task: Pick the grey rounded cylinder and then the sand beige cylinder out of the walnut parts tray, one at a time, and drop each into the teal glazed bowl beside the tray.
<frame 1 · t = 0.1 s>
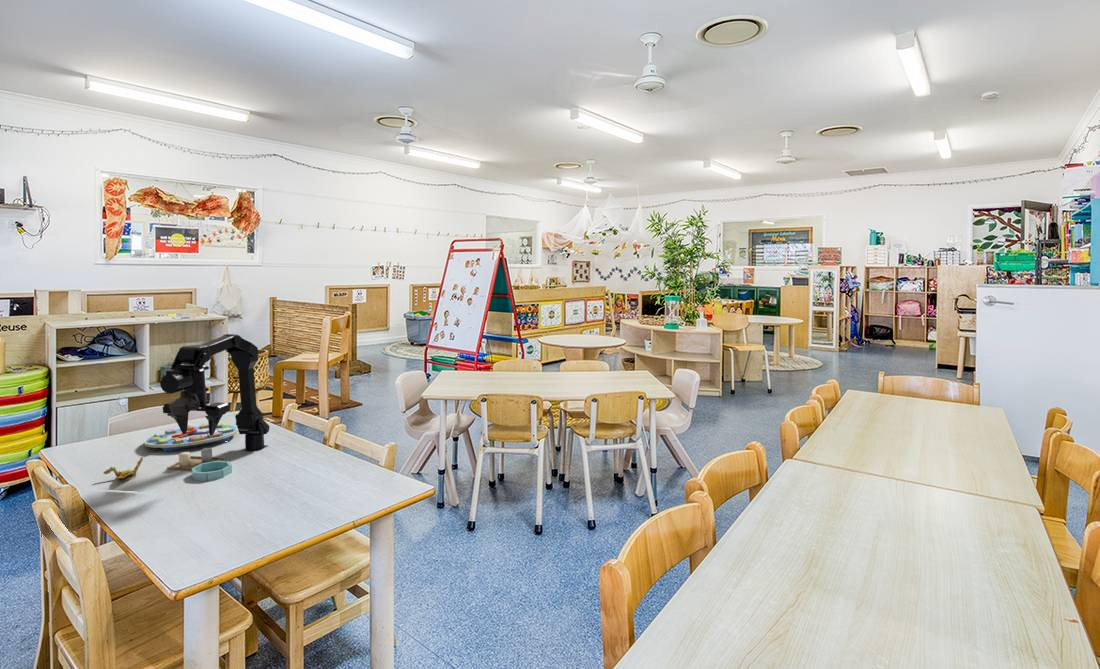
hand: (198, 434, 177), 15 cm above the table, tool pointing down, fingers open, 9 cm apart
bowl: (212, 475, 182), on the table
sand beige cylinder: (185, 466, 188), point 1 cm above the table, touching parts tray
parts tray: (196, 465, 190), on the table
shape sorting clock: (193, 442, 216), on the table
olive plastic animal figure: (127, 480, 178), on the table
grey rounded cylinder: (207, 462, 192), point 1 cm above the table, touching parts tray
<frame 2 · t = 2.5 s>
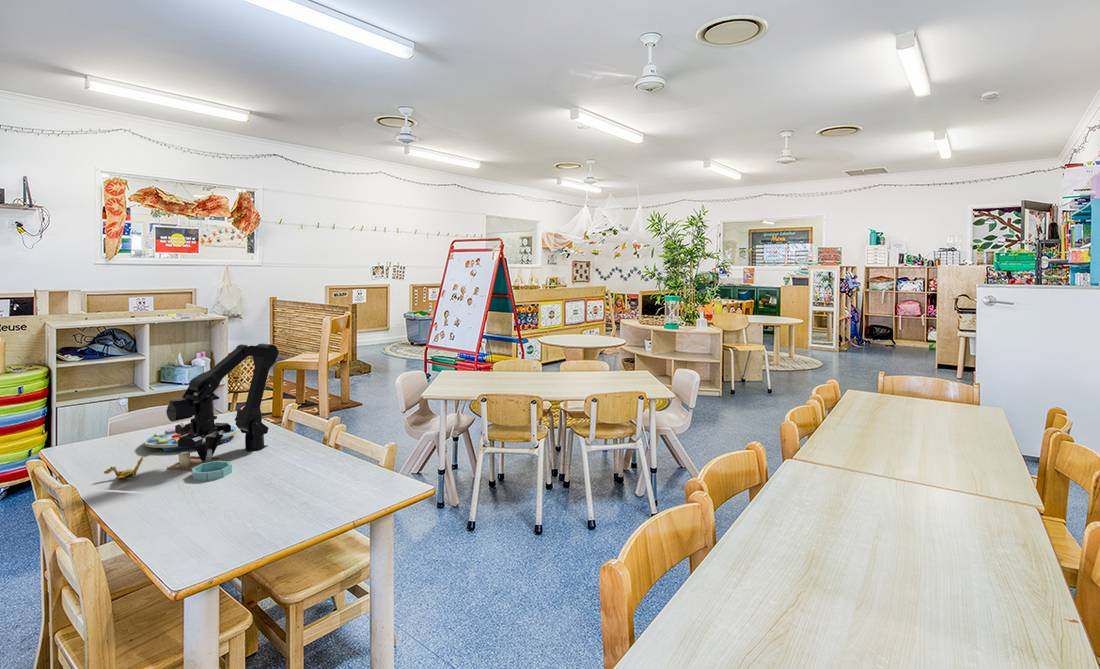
hand: (206, 458, 192), 2 cm above the table, tool pointing down, fingers closed on grey rounded cylinder, 3 cm apart
grey rounded cylinder: (207, 462, 192), point 1 cm above the table, touching gripper, parts tray
everything else where it was.
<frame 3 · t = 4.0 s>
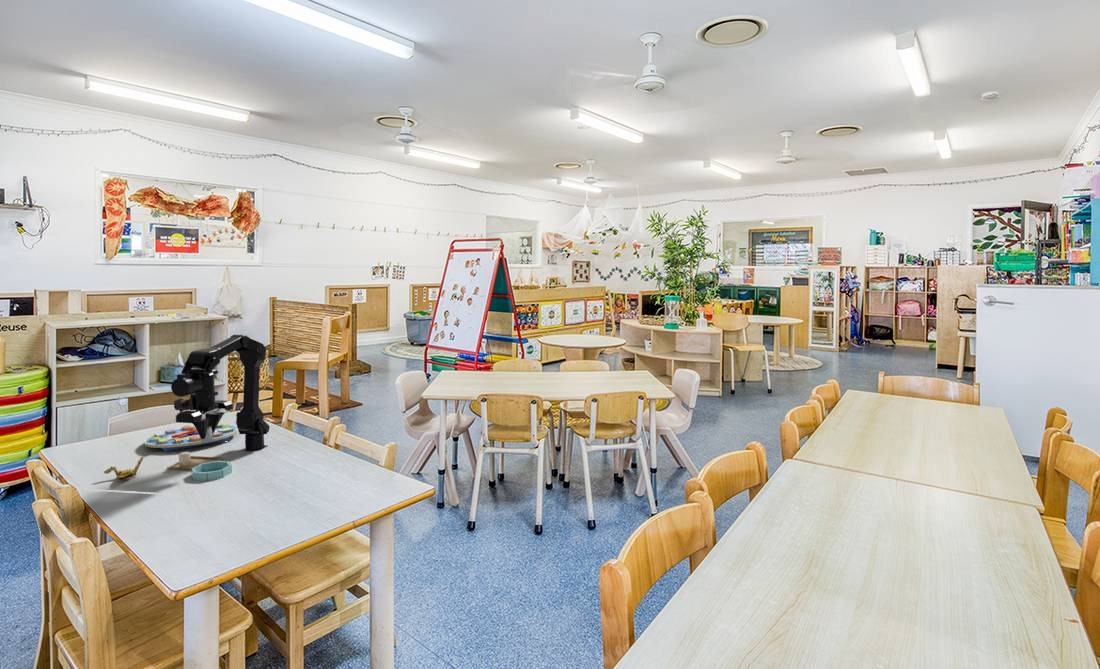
hand: (206, 437, 182), 12 cm above the table, tool pointing down, fingers closed on grey rounded cylinder, 3 cm apart
grey rounded cylinder: (206, 440, 182), point 11 cm above the table, touching gripper
everything else where it was.
when the fingers open (4 cm above the table, at t = 5.9 s): grey rounded cylinder drops 2 cm, resting on bowl.
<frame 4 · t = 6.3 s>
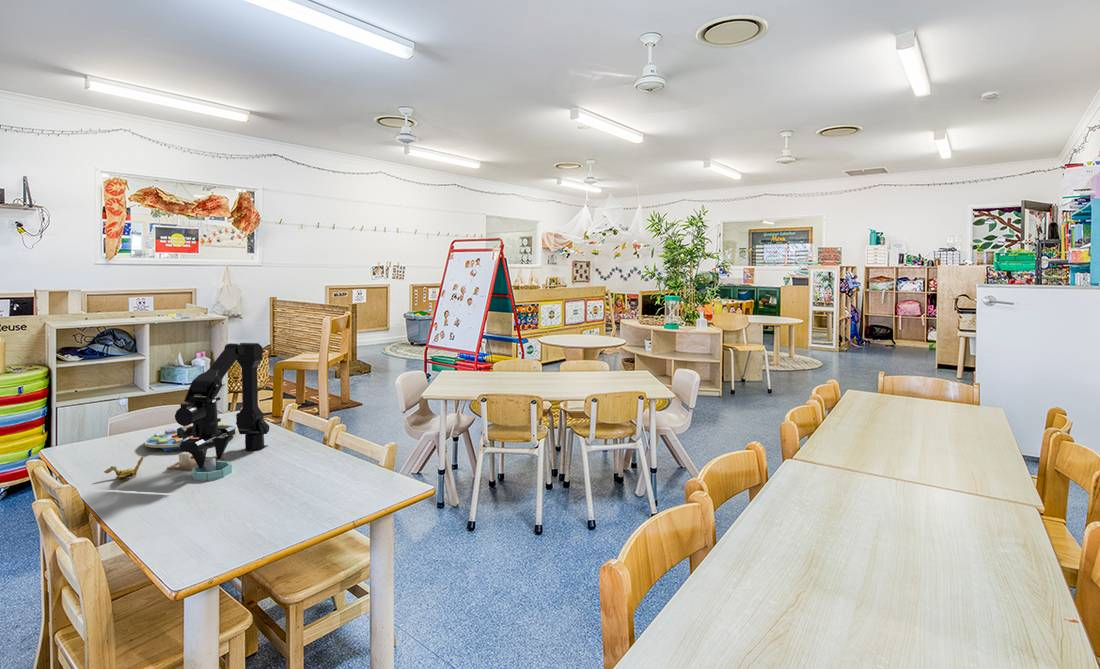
hand: (210, 463, 183), 4 cm above the table, tool pointing down, fingers open, 8 cm apart
grey rounded cylinder: (210, 472, 183), point 1 cm above the table, touching bowl
everything else where it was.
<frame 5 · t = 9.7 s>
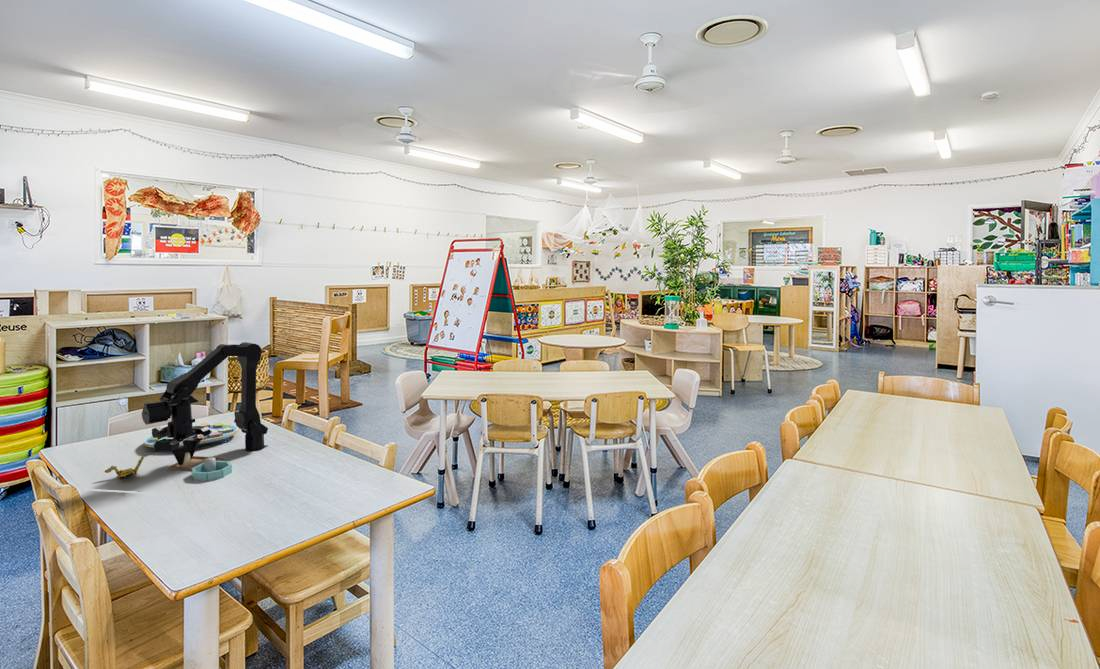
hand: (184, 462, 188), 2 cm above the table, tool pointing down, fingers closed on sand beige cylinder, 3 cm apart
sand beige cylinder: (185, 466, 188), point 1 cm above the table, touching gripper, parts tray
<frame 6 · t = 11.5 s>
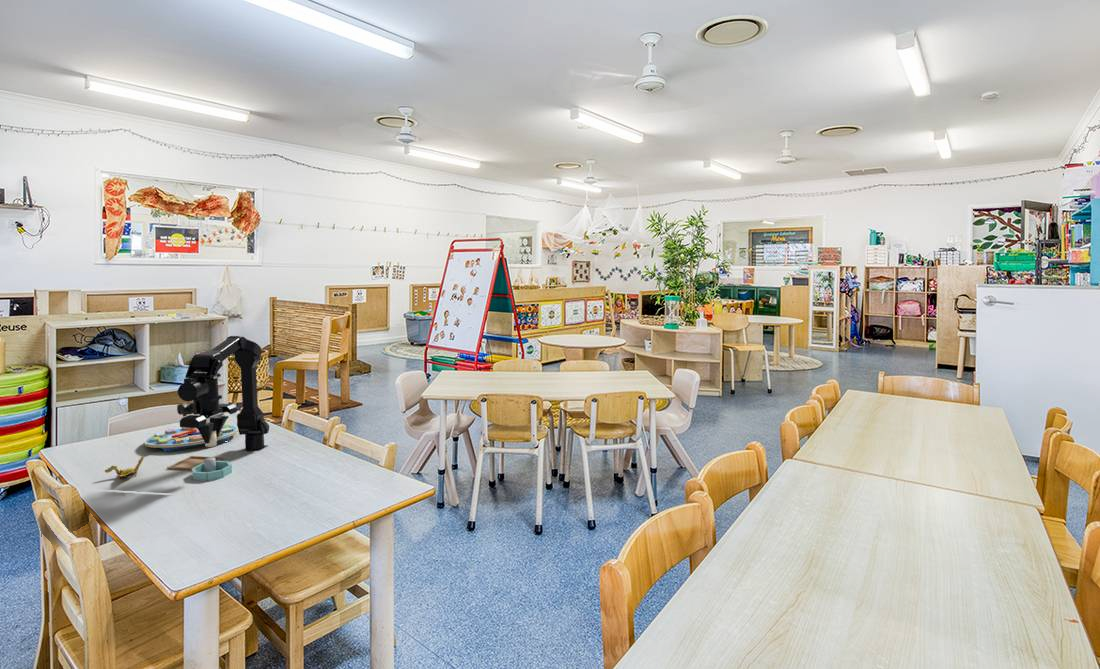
hand: (211, 441, 179), 12 cm above the table, tool pointing down, fingers closed on sand beige cylinder, 3 cm apart
sand beige cylinder: (211, 445, 179), point 11 cm above the table, touching gripper
when the fingers open (4 cm above the table, at t = 13.2 s): sand beige cylinder drops 2 cm, resting on bowl.
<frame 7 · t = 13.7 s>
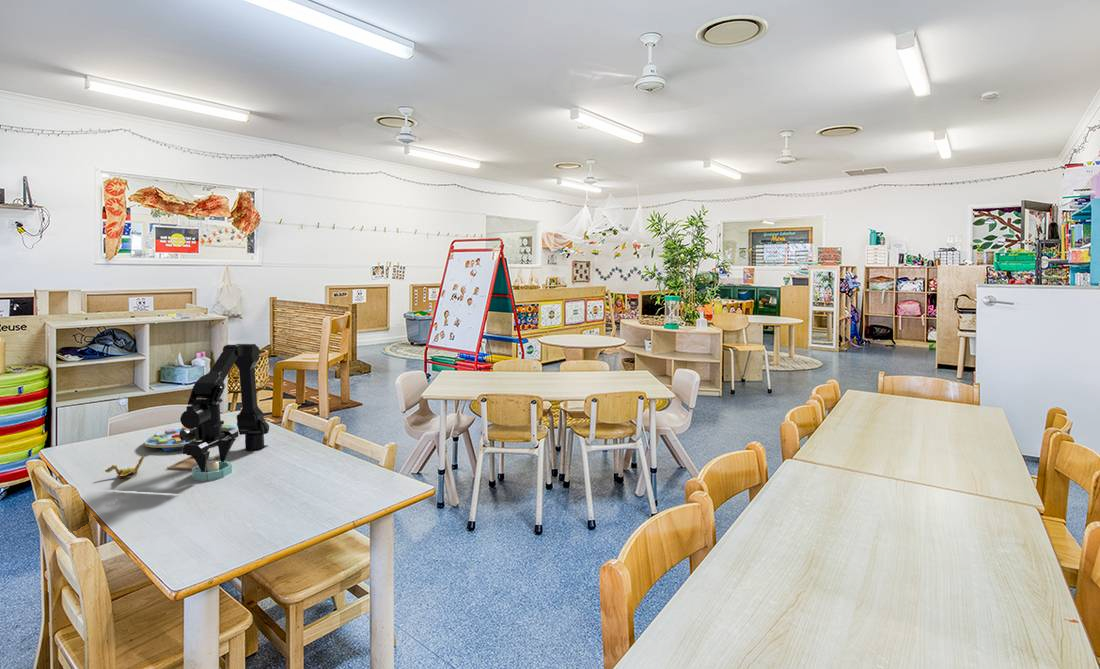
hand: (213, 466, 180), 4 cm above the table, tool pointing down, fingers open, 9 cm apart
sand beige cylinder: (213, 475, 180), point 1 cm above the table, touching bowl
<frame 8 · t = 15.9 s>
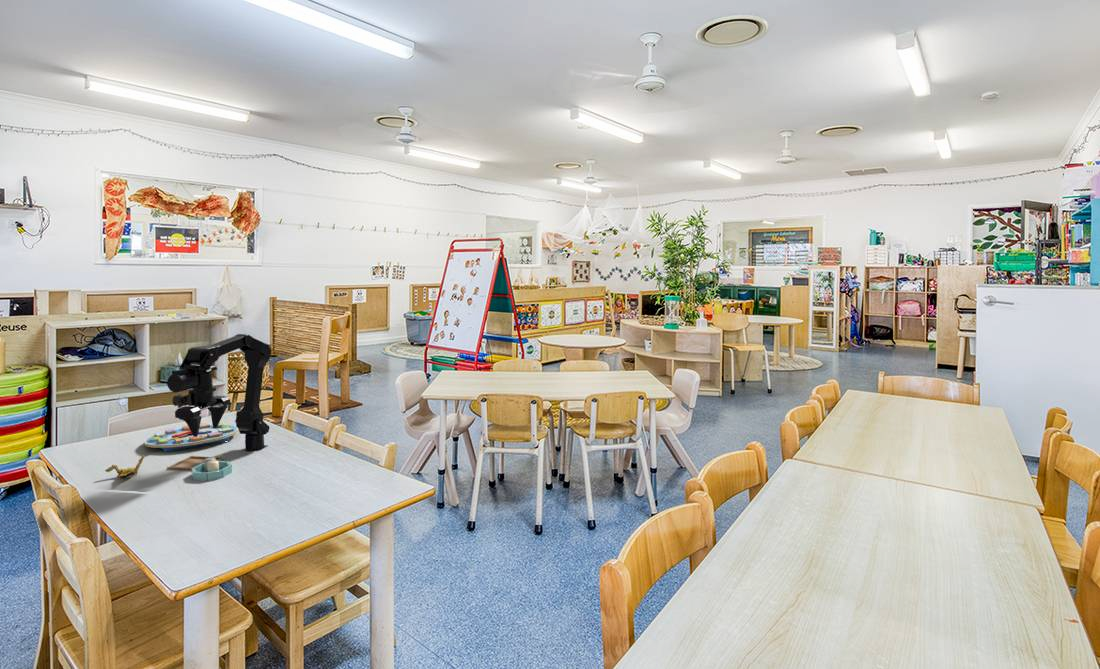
hand: (205, 432, 185), 13 cm above the table, tool pointing down, fingers open, 9 cm apart
at the end: grey rounded cylinder inside the target area on the bowl (1.9 cm from its centre), point 0.6 cm above the bowl's base; sand beige cylinder inside the target area on the bowl (1.8 cm from its centre), point 0.6 cm above the bowl's base; the gripper is holding nothing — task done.
